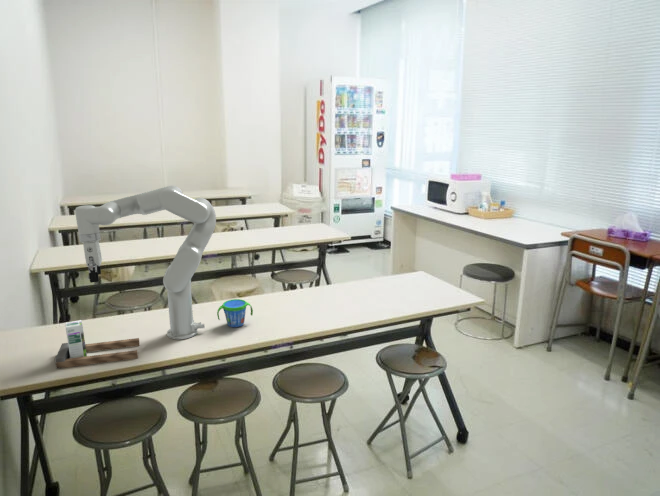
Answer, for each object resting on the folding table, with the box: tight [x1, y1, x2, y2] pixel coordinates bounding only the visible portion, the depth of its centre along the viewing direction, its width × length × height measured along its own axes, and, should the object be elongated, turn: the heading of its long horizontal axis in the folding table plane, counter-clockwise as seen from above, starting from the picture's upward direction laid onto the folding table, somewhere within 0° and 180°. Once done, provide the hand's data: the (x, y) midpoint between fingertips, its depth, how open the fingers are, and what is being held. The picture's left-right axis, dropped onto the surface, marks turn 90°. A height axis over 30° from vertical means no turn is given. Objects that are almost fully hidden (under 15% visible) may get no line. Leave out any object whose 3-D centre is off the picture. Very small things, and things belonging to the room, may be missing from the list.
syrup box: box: [64, 319, 88, 358], centre depth 186 cm, size 6×6×14 cm
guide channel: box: [54, 337, 141, 370], centre depth 190 cm, size 28×13×4 cm, turn 108°
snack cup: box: [216, 298, 254, 328], centre depth 218 cm, size 16×10×10 cm
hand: (95, 278), depth 197 cm, fingers open, 9 cm apart
